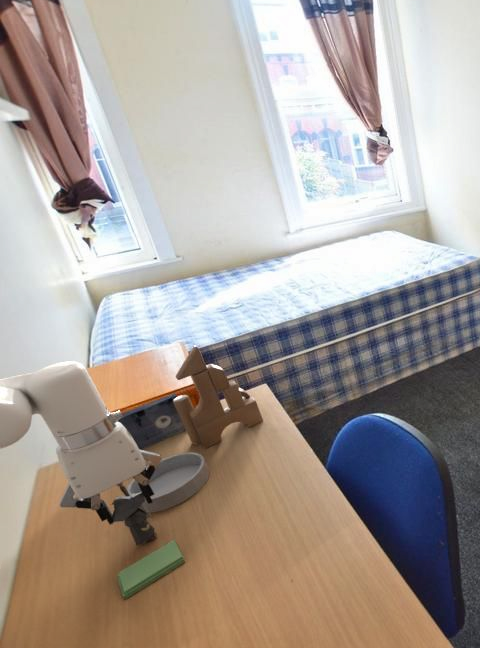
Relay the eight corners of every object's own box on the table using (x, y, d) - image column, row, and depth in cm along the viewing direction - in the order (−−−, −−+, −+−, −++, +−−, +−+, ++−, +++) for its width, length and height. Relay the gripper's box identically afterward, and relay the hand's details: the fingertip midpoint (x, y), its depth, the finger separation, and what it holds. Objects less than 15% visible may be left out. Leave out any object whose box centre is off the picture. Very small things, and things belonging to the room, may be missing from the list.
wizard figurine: (171, 531, 90) (143, 484, 85) (139, 555, 86) (108, 507, 81) (148, 518, 94) (120, 473, 89) (117, 541, 89) (86, 495, 85)
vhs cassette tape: (189, 423, 125) (175, 392, 121) (191, 428, 123) (177, 396, 119) (103, 460, 114) (85, 427, 110) (104, 465, 112) (85, 432, 108)
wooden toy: (254, 411, 127) (223, 329, 117) (263, 420, 123) (231, 336, 113) (190, 441, 117) (150, 354, 107) (197, 452, 113) (156, 363, 103)
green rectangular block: (124, 599, 78) (121, 594, 78) (118, 579, 82) (115, 573, 82) (185, 562, 84) (182, 557, 83) (176, 544, 88) (174, 539, 87)
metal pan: (141, 524, 93) (133, 511, 92) (127, 491, 103) (120, 479, 101) (218, 482, 102) (212, 470, 101) (199, 455, 112) (194, 444, 110)
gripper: (141, 400, 88) (177, 474, 95) (17, 449, 77) (69, 529, 84) (149, 414, 83) (187, 491, 90) (19, 469, 72) (74, 552, 79)
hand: (130, 508), depth 87 cm, fingers closed on wizard figurine, 5 cm apart
